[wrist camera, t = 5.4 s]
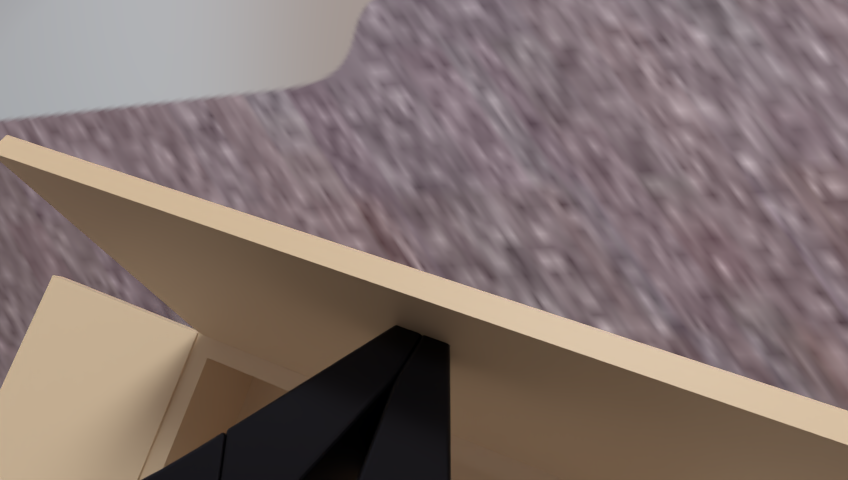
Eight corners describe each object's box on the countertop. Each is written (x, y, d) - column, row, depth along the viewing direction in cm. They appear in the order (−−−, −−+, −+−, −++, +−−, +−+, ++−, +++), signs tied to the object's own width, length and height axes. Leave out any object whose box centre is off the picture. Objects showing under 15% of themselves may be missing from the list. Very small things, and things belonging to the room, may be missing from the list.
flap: (1141, 545, 5) (1128, 503, 5) (-12, 151, 8) (6, 134, 9) (729, 545, 12) (730, 528, 12) (200, 333, 16) (207, 322, 16)
